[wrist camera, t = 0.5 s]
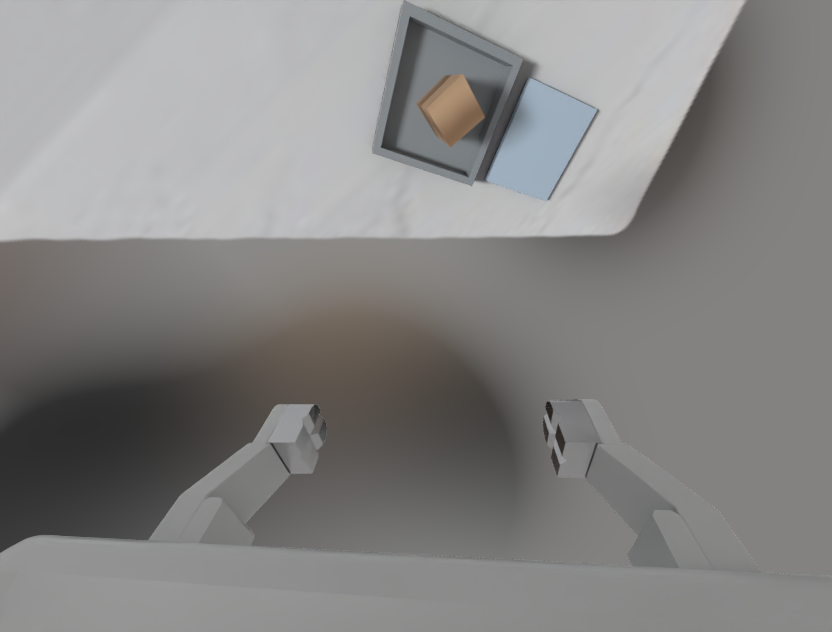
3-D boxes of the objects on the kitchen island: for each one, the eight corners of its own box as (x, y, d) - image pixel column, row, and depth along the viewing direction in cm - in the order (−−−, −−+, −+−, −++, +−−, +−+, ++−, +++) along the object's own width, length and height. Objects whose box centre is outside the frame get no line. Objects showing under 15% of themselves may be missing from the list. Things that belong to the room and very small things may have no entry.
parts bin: (401, 6, 36) (404, 0, 34) (513, 60, 41) (523, 58, 38) (372, 148, 45) (372, 153, 42) (466, 180, 50) (472, 185, 47)
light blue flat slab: (527, 78, 42) (530, 78, 41) (593, 109, 46) (597, 109, 45) (484, 179, 50) (486, 181, 49) (543, 199, 53) (546, 201, 53)
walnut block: (415, 103, 42) (426, 108, 34) (445, 74, 40) (464, 72, 32) (436, 136, 44) (450, 147, 37) (465, 110, 43) (486, 116, 35)
